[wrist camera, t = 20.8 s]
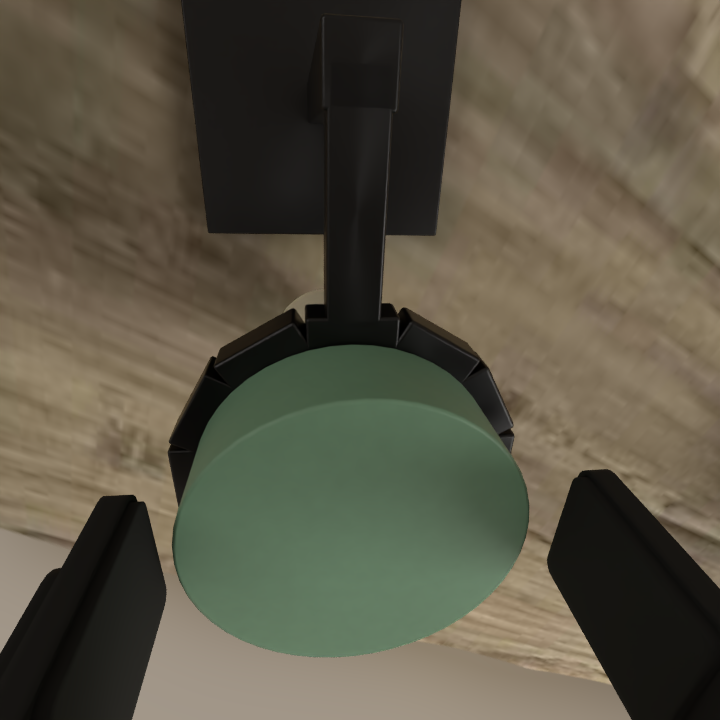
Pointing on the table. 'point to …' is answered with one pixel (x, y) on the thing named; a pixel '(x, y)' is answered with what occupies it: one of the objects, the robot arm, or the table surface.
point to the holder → (325, 172)
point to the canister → (347, 504)
